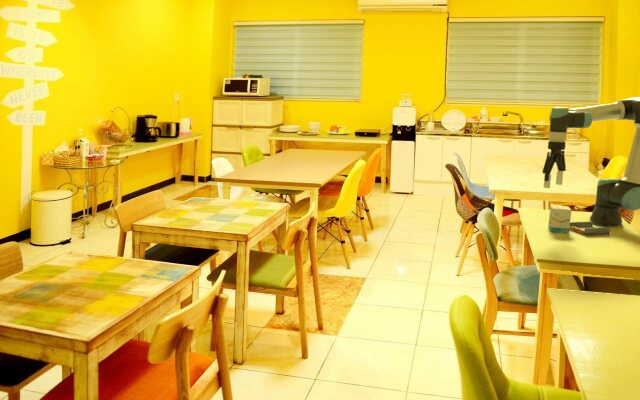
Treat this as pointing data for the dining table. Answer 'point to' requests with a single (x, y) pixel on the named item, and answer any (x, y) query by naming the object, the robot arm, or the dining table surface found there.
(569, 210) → the ink box
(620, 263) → the dining table surface
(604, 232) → the grey and orange tray
